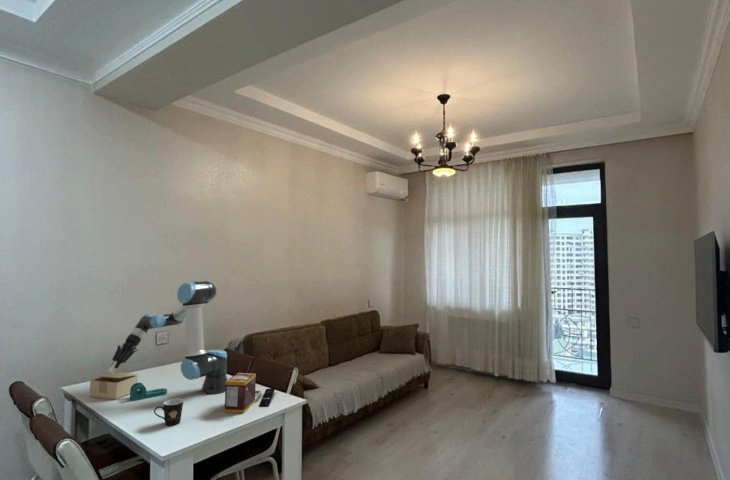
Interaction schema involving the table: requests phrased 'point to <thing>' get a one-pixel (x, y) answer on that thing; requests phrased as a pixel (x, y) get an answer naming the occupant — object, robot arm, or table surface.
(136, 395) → the bracket
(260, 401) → the table surface
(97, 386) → the carton
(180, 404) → the coffee mug
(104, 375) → the carton lid
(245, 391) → the supplement box
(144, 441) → the table surface
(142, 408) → the table surface
